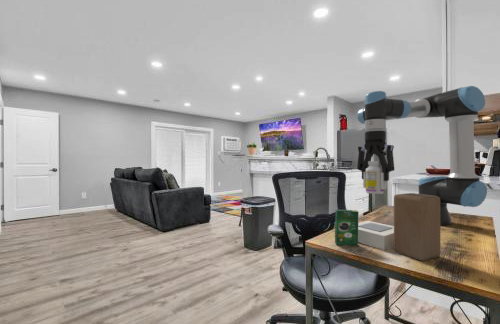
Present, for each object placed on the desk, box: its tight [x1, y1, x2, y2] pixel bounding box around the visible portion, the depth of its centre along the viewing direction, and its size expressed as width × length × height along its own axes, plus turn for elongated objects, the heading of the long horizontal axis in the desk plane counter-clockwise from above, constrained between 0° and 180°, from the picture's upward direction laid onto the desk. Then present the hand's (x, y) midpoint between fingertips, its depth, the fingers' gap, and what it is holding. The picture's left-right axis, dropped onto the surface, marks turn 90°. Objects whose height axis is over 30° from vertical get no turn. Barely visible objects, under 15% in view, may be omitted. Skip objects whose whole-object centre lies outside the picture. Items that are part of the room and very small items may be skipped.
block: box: [393, 192, 441, 262], centre depth 82 cm, size 10×10×20 cm
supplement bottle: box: [365, 160, 385, 195], centre depth 98 cm, size 7×7×13 cm
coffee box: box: [334, 209, 360, 247], centre depth 92 cm, size 8×3×13 cm, turn 82°
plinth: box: [358, 220, 394, 251], centre depth 97 cm, size 16×16×5 cm
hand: (374, 188), depth 98 cm, fingers closed on supplement bottle, 7 cm apart
